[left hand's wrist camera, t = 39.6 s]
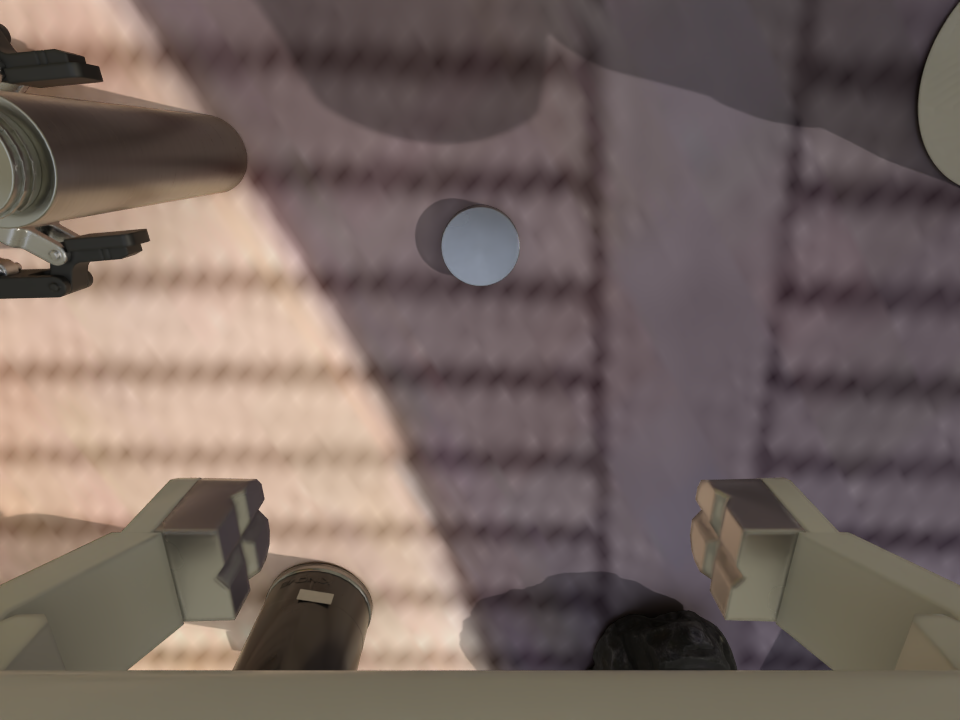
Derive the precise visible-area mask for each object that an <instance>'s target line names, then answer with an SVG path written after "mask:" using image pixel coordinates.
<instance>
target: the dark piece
mask: <svg viewBox="0 0 960 720" xmlns="http://www.w3.org/2000/svg"><path fill="white" fill-rule="evenodd" d="M246 167H247V154H246V149H245V146H244V144H243V141H242V139H241V138H240V136H239V134H238V133H237V132H236V131H235V130H234V129H233V127H232V126H230V125H229V124H228V123H227V122H225V121H223V120H222V119H220V118H217V117H214V116H210V115H203V114H195V113H186V112H178V111H170V110H161V109H153V108H144V107H136V106H127V105H119V104H110V103H102V102H93V101H85V100H76V99H68V98H59V97H51V96H42V95H34V94H26V93H17V92H9V91H0V228H3V229H15V228H23V227H28V226H34V225H40V224H45V223H51V222H57V221H62V220H68V219H74V218H80V217H85V216H91V215H97V214H102V213H108V212H114V211H119V210H125V209H131V208H137V207H142V206H148V205H154V204H159V203H165V202H171V201H176V200H182V199H188V198H193V197H199V196H205V195H211V194H216V193H222V192H226V191H229V190H231V189H232V188H234V187H235V186H237V185H238V184H239V182H240V181H241V180H242V178H243V176H244V174H245V171H246Z"/></svg>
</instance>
